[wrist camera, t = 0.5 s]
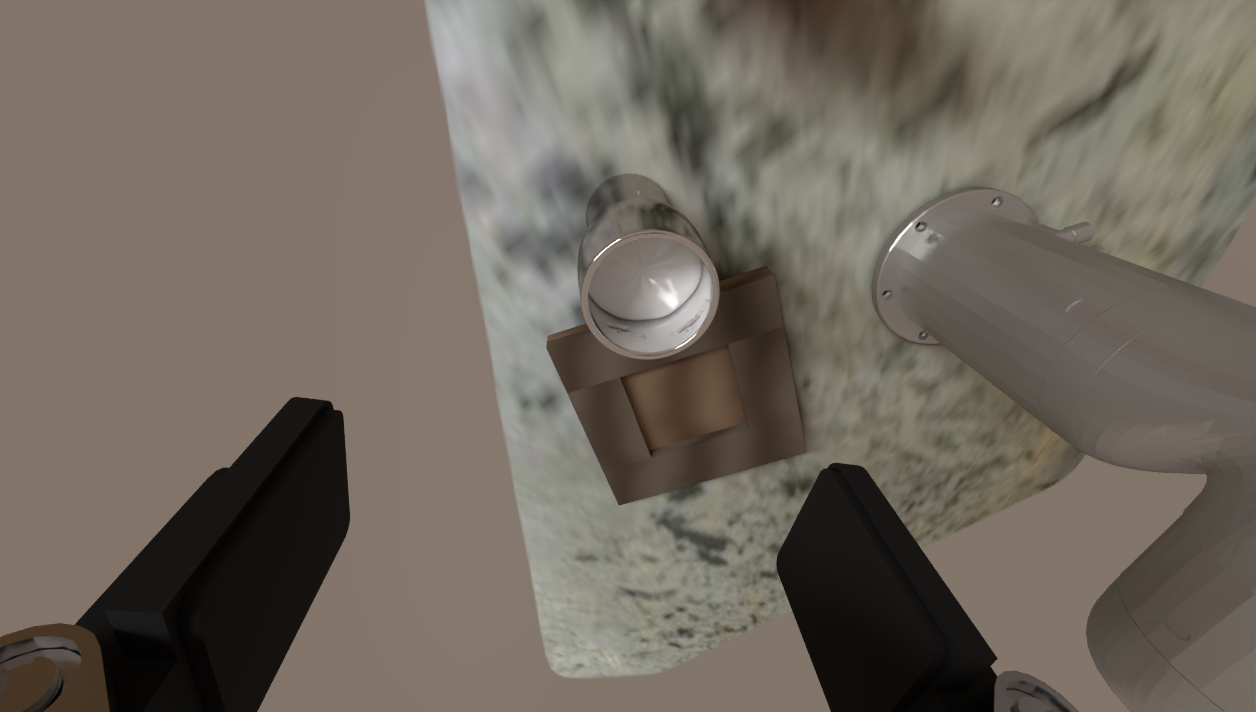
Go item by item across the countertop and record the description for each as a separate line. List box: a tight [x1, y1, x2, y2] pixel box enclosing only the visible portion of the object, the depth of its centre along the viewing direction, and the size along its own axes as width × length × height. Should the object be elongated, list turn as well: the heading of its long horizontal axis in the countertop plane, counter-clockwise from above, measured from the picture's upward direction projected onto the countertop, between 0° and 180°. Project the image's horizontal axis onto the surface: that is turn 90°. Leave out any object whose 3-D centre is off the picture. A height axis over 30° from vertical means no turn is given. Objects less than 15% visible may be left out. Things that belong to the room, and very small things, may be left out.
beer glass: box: [577, 174, 720, 360], centre depth 30 cm, size 7×7×15 cm
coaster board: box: [546, 266, 806, 505], centre depth 44 cm, size 18×18×2 cm
